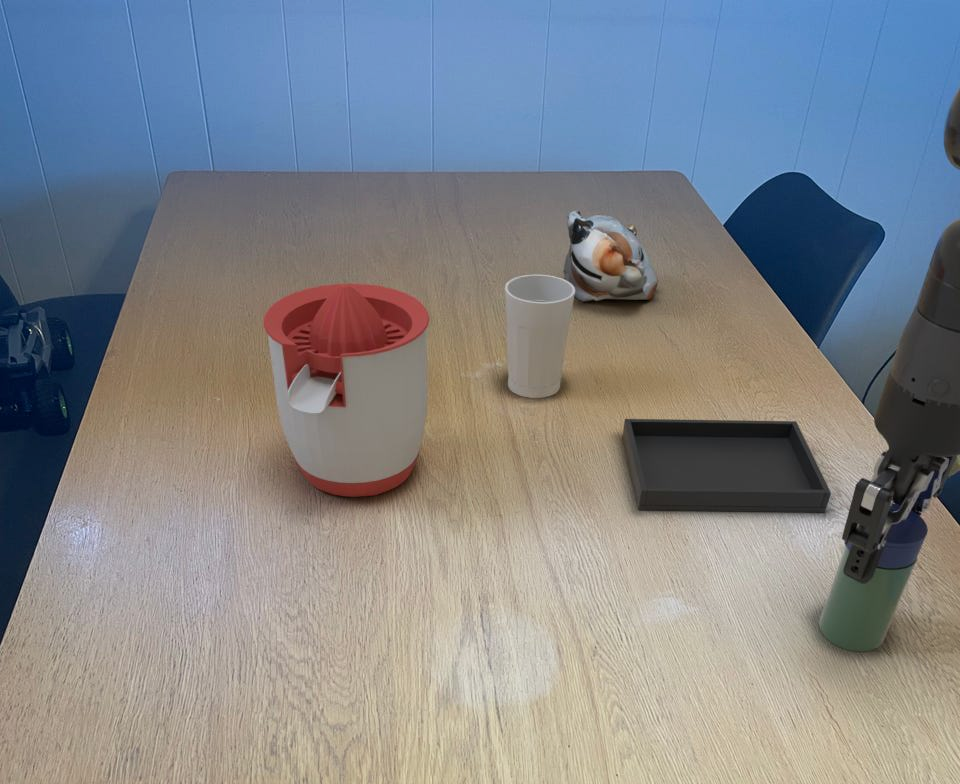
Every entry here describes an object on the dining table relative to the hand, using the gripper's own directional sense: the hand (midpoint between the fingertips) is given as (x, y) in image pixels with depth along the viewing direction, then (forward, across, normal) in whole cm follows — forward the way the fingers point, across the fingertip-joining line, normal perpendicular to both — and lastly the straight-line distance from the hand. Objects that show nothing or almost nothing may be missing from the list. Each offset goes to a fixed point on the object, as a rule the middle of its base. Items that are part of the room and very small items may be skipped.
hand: (875, 560), depth 80 cm
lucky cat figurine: (+8, -40, -60) cm, 73 cm away
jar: (+8, 0, 0) cm, 8 cm away
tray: (+8, -13, -22) cm, 27 cm away
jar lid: (-4, 0, 0) cm, 4 cm away
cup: (+8, -13, -49) cm, 52 cm away
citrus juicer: (+8, +16, -49) cm, 52 cm away
